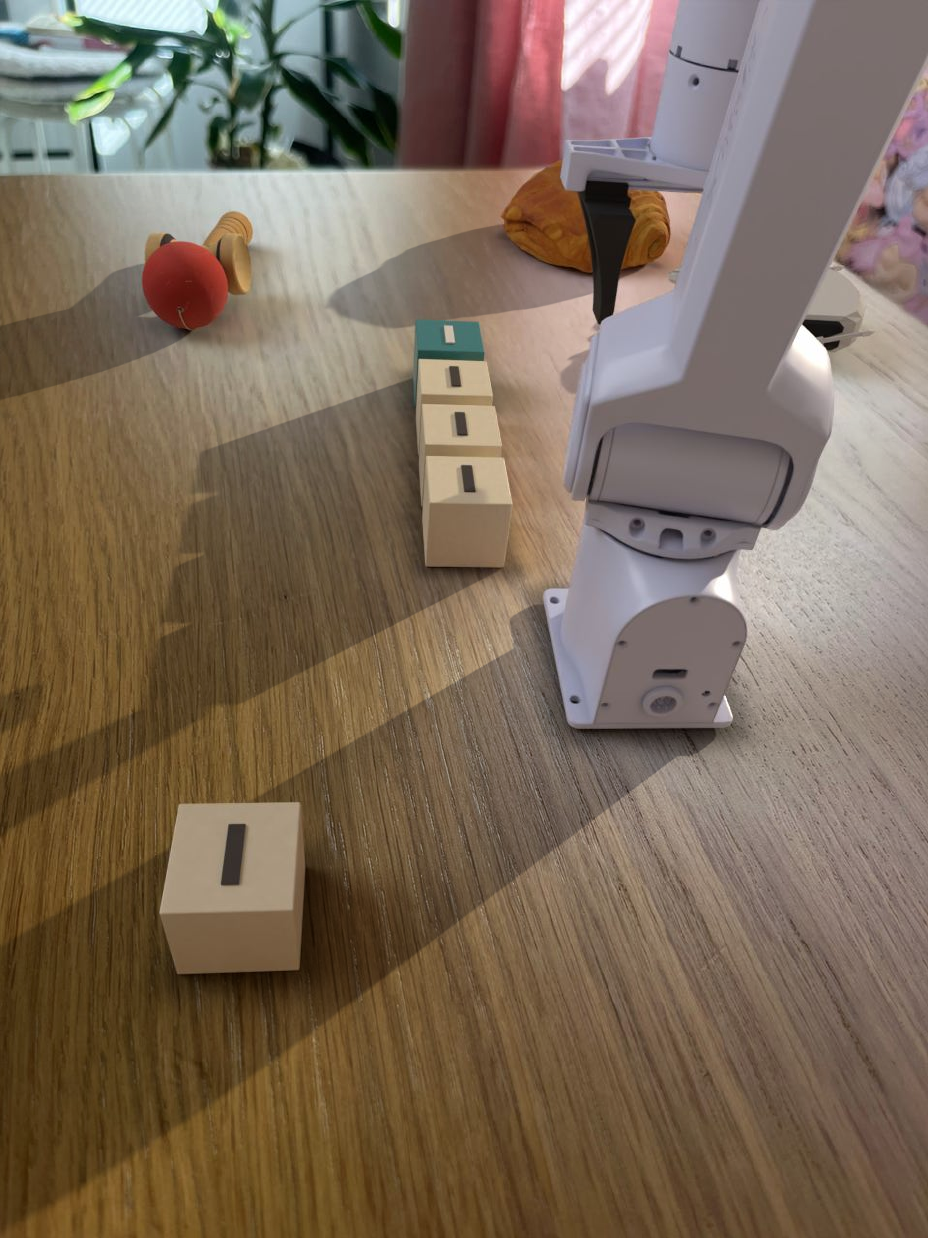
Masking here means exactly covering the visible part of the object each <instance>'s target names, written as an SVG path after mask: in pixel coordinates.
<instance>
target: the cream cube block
mask: <svg viewBox="0 0 928 1238" xmlns="http://www.w3.org/2000/svg"><path fill="white" fill-rule="evenodd" d="M493 398H494V395H493V390H492V385H491V379H490V373H489V367H488V363H487V360H484V361H463V360H434V359H419V361H418V382H417V404H416V409H415V427H416V443H417V444H416V445H417V455H418V456H419V451H420V432H421V412H422V404H445V405H478V406H493Z"/></svg>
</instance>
